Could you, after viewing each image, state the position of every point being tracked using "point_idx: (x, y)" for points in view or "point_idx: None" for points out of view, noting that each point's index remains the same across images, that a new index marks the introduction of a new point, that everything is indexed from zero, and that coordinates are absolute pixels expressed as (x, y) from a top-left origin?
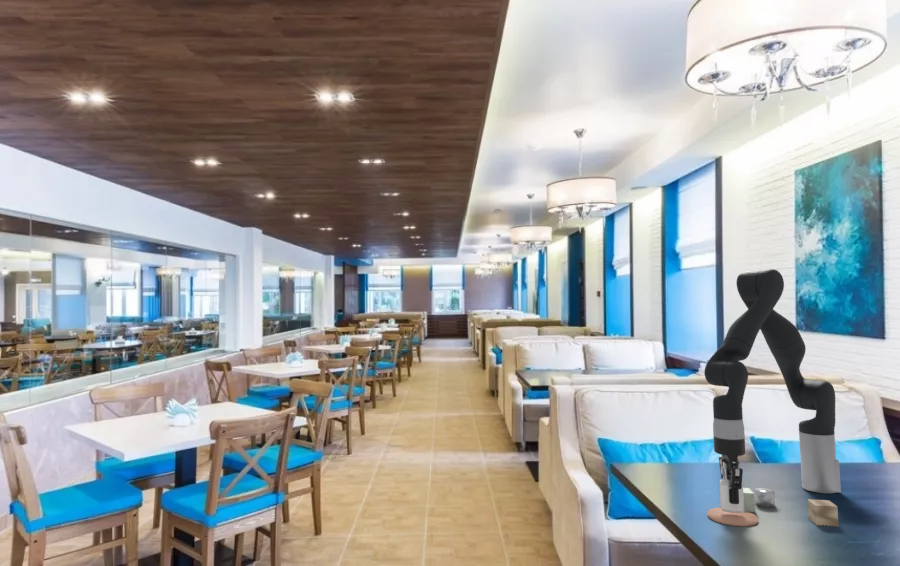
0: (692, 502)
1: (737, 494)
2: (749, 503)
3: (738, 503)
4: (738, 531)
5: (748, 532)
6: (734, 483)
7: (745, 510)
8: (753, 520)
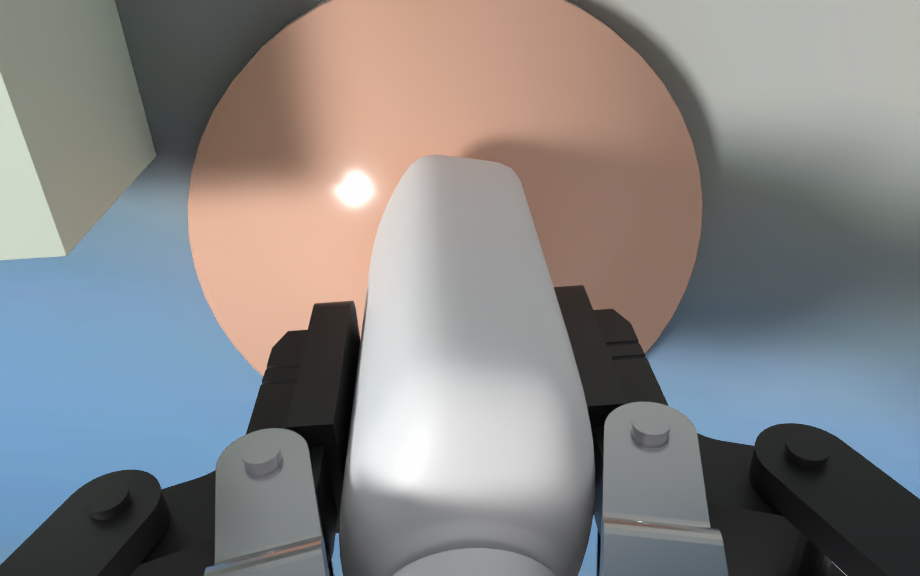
0: (64, 488)
1: (651, 380)
2: (68, 1)
3: (581, 287)
4: (818, 248)
5: (848, 166)
6: (591, 515)
7: (124, 42)
8: (590, 59)
